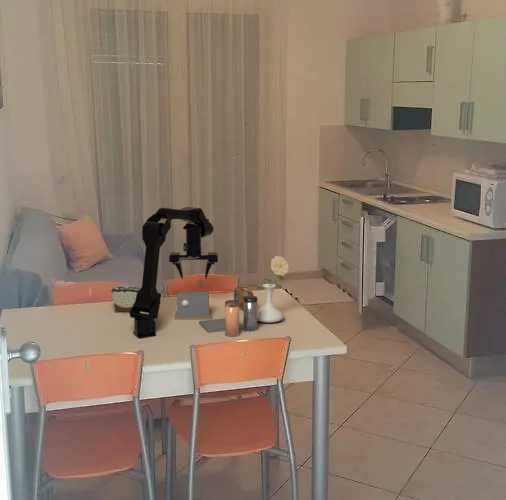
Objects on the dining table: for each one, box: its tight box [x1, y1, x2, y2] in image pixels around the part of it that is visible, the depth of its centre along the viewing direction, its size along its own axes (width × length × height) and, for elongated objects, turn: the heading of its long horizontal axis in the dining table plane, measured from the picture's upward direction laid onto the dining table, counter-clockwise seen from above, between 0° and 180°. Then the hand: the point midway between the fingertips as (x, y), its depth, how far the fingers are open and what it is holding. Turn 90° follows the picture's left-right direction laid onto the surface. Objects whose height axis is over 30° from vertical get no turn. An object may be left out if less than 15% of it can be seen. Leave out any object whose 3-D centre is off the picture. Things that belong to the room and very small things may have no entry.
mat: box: [198, 317, 225, 334], centre depth 254 cm, size 11×11×1 cm
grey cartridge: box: [242, 295, 258, 333], centre depth 250 cm, size 5×5×12 cm
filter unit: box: [174, 291, 213, 321], centre depth 265 cm, size 14×8×9 cm, turn 92°
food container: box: [109, 284, 141, 314], centre depth 271 cm, size 12×6×10 cm, turn 84°
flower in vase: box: [257, 255, 290, 323], centre depth 259 cm, size 13×11×25 cm
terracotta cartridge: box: [224, 299, 240, 338], centre depth 244 cm, size 5×5×12 cm
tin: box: [233, 286, 255, 312], centre depth 275 cm, size 15×3×8 cm, turn 25°
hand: (194, 278), depth 270 cm, fingers open, 9 cm apart
